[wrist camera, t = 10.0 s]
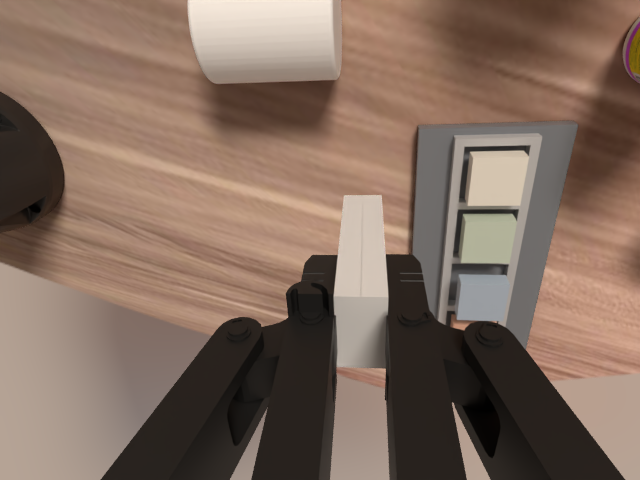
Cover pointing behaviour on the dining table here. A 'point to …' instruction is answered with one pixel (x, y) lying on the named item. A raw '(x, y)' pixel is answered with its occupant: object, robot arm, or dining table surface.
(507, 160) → the key cream
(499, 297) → the key blue
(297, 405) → the robot arm
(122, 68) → the dining table surface
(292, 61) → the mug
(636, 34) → the supplement bottle
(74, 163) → the dining table surface
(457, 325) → the key terracotta
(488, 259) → the key sage
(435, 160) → the keypad
